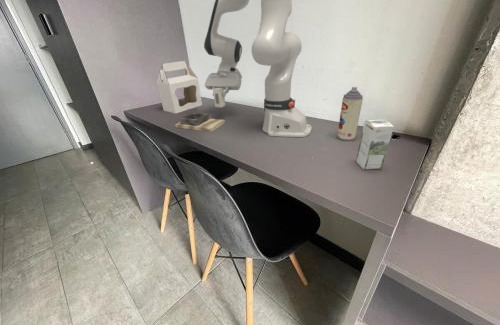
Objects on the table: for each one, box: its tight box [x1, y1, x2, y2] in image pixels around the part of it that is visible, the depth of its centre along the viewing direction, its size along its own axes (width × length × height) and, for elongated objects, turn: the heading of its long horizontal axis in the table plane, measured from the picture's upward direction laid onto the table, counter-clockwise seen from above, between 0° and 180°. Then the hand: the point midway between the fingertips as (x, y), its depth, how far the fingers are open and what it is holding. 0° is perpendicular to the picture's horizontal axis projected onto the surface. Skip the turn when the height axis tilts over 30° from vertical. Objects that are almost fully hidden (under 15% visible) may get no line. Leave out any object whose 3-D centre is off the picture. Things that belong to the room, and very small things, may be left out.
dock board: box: [174, 112, 226, 133], centre depth 113 cm, size 22×13×4 cm, turn 66°
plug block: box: [212, 88, 226, 108], centre depth 115 cm, size 4×4×9 cm
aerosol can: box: [336, 86, 364, 142], centre depth 85 cm, size 7×7×20 cm
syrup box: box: [355, 119, 395, 171], centre depth 67 cm, size 6×6×14 cm
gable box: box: [156, 60, 203, 115], centre depth 139 cm, size 22×13×28 cm, turn 142°
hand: (218, 95), depth 114 cm, fingers closed on plug block, 4 cm apart
